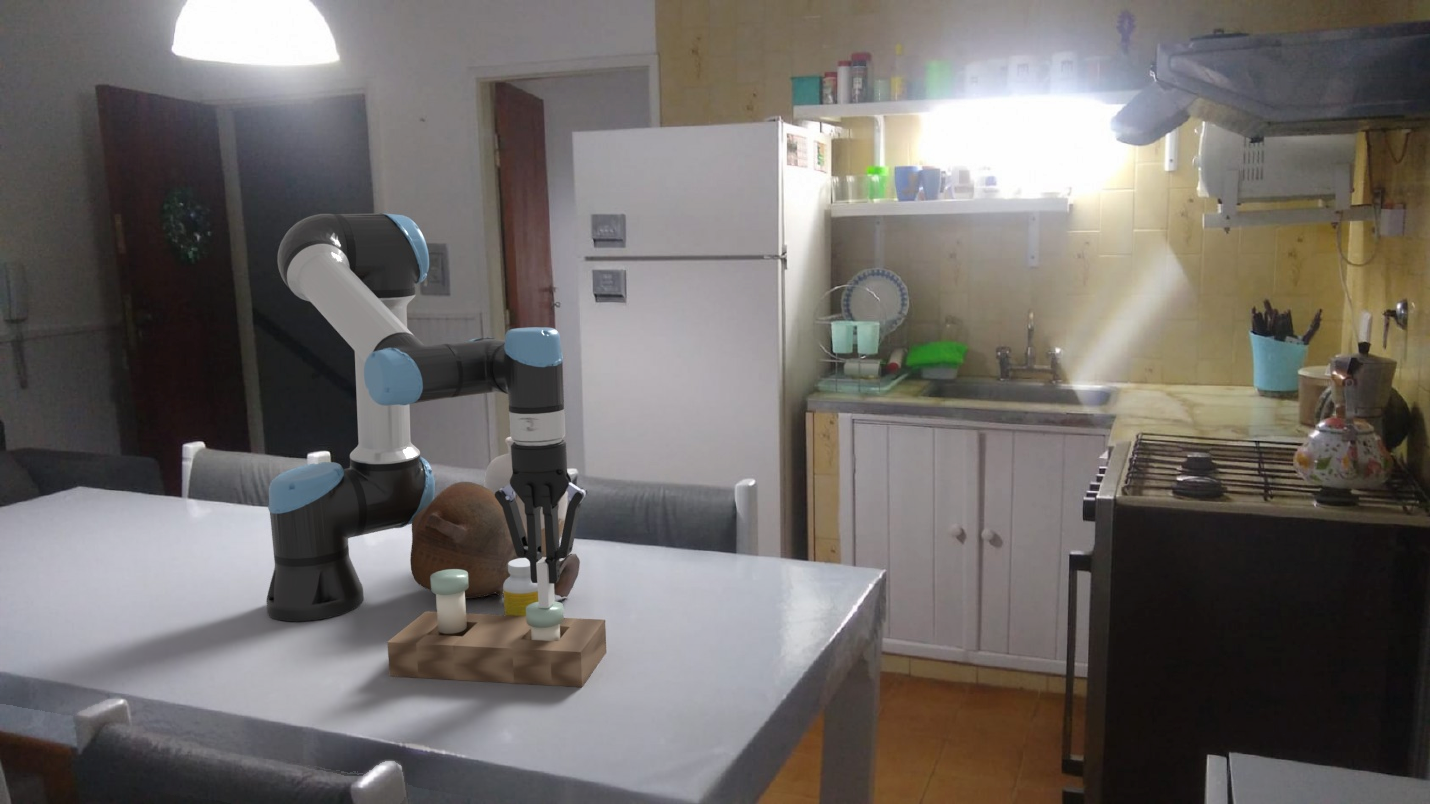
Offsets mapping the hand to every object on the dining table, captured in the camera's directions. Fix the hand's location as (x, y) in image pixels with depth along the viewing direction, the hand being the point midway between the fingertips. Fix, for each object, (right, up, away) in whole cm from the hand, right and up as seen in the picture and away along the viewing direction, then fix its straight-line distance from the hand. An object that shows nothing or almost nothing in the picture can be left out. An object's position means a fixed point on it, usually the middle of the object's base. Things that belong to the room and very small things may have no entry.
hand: (546, 604), depth 147 cm
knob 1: (-14, -4, +3) cm, 15 cm away
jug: (-14, -5, +31) cm, 34 cm away
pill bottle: (-5, -7, +13) cm, 16 cm away
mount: (-7, -9, +2) cm, 12 cm away
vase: (-12, -1, +54) cm, 56 cm away
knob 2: (0, -8, +1) cm, 8 cm away
